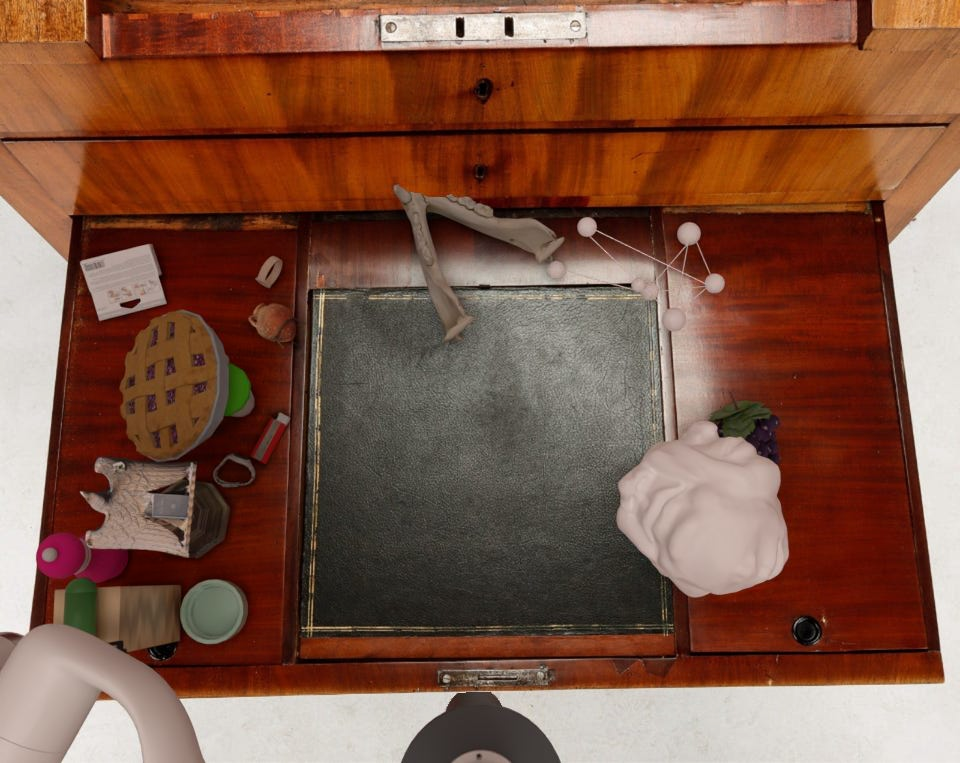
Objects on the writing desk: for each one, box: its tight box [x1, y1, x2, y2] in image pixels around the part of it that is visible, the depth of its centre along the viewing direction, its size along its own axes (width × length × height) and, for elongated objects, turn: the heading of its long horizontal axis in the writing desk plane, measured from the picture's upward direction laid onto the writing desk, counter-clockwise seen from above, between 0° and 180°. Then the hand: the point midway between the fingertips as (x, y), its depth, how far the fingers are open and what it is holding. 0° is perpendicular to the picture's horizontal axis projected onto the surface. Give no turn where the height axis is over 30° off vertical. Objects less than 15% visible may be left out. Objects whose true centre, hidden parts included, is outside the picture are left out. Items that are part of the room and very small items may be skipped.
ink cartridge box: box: [79, 243, 167, 322], centre depth 141 cm, size 2×11×10 cm
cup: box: [223, 363, 256, 418], centre depth 131 cm, size 8×8×15 cm
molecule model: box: [546, 216, 726, 332], centre depth 139 cm, size 14×25×18 cm
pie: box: [118, 309, 229, 463], centre depth 128 cm, size 22×22×5 cm
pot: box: [248, 302, 307, 349], centre depth 138 cm, size 6×8×6 cm
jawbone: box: [393, 184, 565, 343], centre depth 137 cm, size 25×25×15 cm
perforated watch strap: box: [255, 255, 283, 289], centre depth 140 cm, size 3×5×5 cm, turn 150°
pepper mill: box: [35, 532, 129, 584], centre depth 123 cm, size 7×7×20 cm
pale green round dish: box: [180, 578, 249, 645], centre depth 130 cm, size 9×9×4 cm
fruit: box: [706, 390, 781, 466], centre depth 134 cm, size 10×11×15 cm
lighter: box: [249, 412, 291, 465], centre depth 137 cm, size 3×1×8 cm
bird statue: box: [79, 441, 231, 559], centre depth 117 cm, size 17×13×35 cm
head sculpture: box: [615, 420, 790, 598], centre depth 124 cm, size 23×23×25 cm
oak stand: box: [52, 584, 182, 653], centre depth 120 cm, size 8×8×24 cm
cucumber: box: [63, 577, 98, 637], centre depth 106 cm, size 11×4×4 cm, turn 3°
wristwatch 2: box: [213, 453, 256, 489], centre depth 135 cm, size 4×6×5 cm
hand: (74, 658), depth 95 cm, fingers open, 9 cm apart
